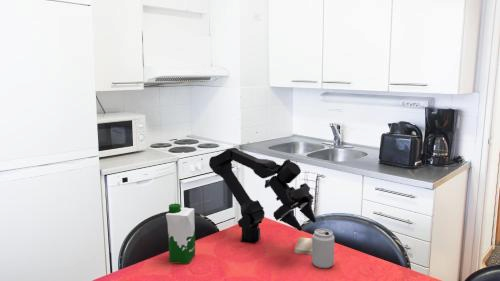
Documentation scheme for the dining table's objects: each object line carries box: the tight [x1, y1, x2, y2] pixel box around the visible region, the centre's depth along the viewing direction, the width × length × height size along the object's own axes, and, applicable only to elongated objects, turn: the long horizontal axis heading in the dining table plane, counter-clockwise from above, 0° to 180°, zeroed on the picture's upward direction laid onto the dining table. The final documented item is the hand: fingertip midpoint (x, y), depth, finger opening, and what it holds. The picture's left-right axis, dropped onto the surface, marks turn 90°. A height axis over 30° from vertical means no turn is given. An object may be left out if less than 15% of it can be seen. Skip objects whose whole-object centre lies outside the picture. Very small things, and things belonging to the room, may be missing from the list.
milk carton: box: [165, 203, 196, 265], centre depth 142 cm, size 9×9×20 cm
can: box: [311, 228, 335, 269], centre depth 138 cm, size 8×8×12 cm
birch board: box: [294, 236, 312, 256], centre depth 151 cm, size 11×11×2 cm
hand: (308, 226), depth 140 cm, fingers open, 9 cm apart
